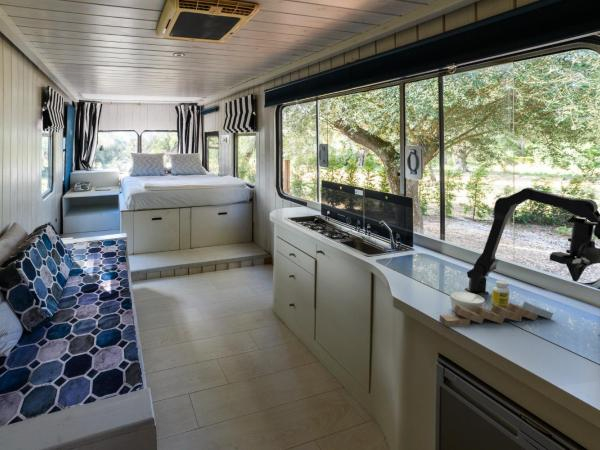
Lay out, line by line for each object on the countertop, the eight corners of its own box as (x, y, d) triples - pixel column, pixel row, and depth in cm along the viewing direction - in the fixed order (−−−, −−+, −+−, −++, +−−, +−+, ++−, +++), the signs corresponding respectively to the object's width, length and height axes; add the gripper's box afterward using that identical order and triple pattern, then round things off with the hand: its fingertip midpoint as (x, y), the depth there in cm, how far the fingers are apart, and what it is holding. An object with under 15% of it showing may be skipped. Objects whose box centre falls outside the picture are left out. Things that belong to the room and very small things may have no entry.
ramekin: (488, 318, 141) (490, 303, 140) (455, 317, 141) (456, 302, 140) (475, 305, 152) (476, 292, 151) (445, 304, 152) (446, 291, 151)
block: (539, 313, 146) (521, 307, 143) (541, 307, 145) (524, 301, 143) (550, 319, 141) (532, 312, 139) (553, 313, 141) (535, 306, 138)
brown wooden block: (492, 317, 141) (473, 311, 139) (495, 312, 141) (475, 305, 139) (501, 323, 136) (481, 316, 135) (504, 317, 136) (484, 310, 134)
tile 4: (475, 318, 140) (453, 309, 140) (477, 312, 140) (456, 304, 140) (481, 323, 135) (459, 315, 135) (484, 317, 135) (461, 309, 135)
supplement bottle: (498, 311, 147) (501, 284, 145) (487, 305, 152) (490, 280, 150) (510, 309, 148) (513, 283, 147) (499, 304, 154) (502, 279, 152)
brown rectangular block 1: (509, 316, 143) (491, 310, 141) (511, 310, 143) (493, 304, 140) (519, 322, 138) (501, 316, 136) (522, 316, 138) (503, 310, 136)
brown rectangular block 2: (524, 314, 144) (506, 308, 142) (526, 309, 144) (509, 302, 142) (535, 320, 139) (517, 314, 137) (537, 314, 139) (519, 308, 137)
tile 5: (461, 320, 140) (439, 320, 139) (462, 313, 139) (439, 314, 138) (469, 326, 135) (446, 327, 134) (470, 319, 134) (447, 320, 133)
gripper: (579, 243, 129) (573, 290, 132) (627, 241, 134) (619, 287, 137) (551, 235, 140) (545, 279, 143) (595, 234, 144) (589, 277, 147)
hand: (575, 281), depth 142 cm, fingers closed
